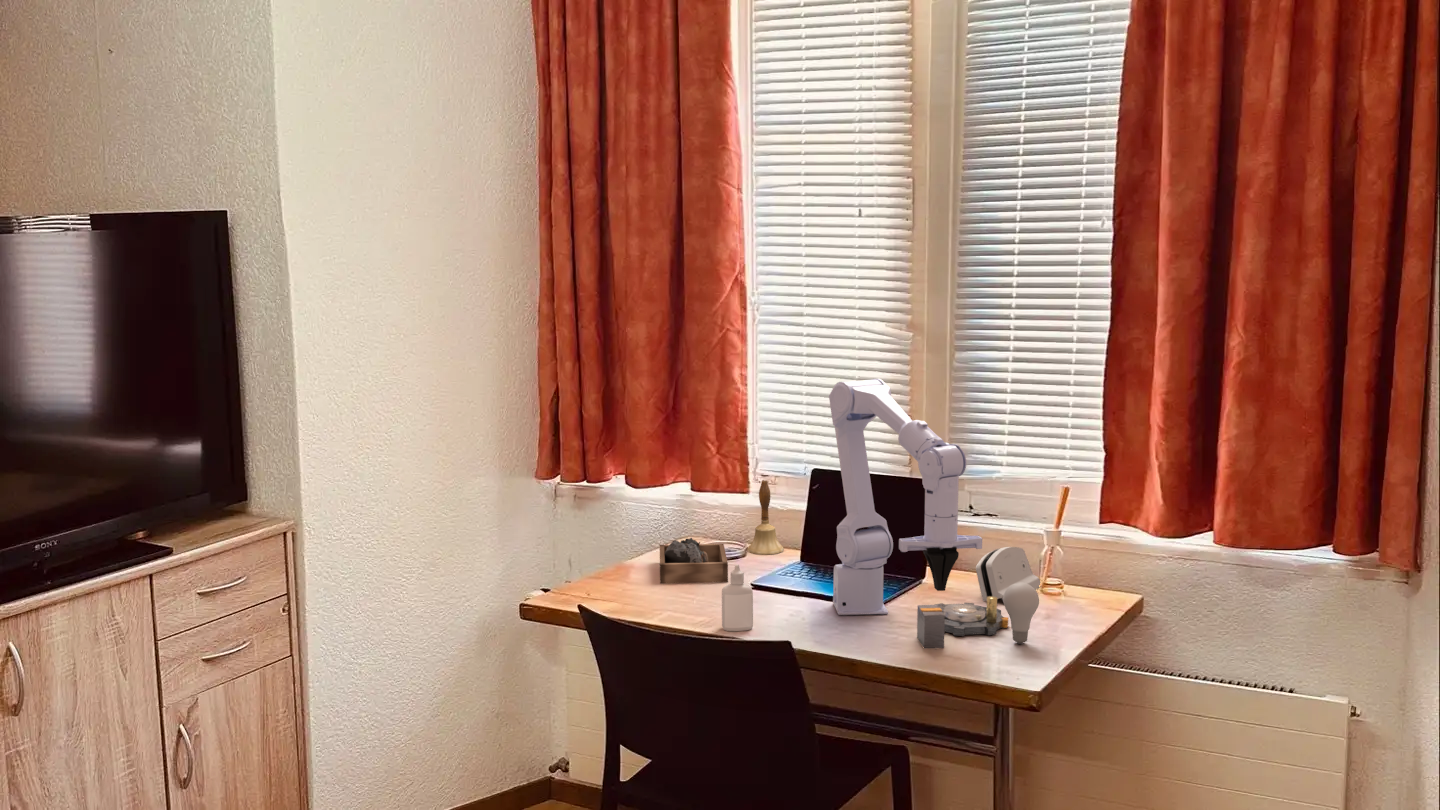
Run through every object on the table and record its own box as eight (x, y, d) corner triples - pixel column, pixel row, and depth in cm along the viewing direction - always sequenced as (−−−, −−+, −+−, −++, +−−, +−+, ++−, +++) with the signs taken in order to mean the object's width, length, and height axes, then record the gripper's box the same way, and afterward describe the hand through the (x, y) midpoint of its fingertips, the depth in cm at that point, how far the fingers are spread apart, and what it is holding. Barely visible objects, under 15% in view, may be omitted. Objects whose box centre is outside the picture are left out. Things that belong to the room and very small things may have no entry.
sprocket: (981, 641, 221) (981, 609, 220) (906, 624, 231) (907, 593, 230) (1021, 620, 233) (1022, 590, 232) (948, 604, 243) (949, 575, 242)
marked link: (924, 648, 219) (924, 614, 218) (916, 637, 224) (917, 604, 224) (944, 648, 219) (944, 614, 218) (936, 637, 225) (937, 603, 224)
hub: (948, 630, 228) (948, 615, 228) (939, 617, 235) (939, 603, 235) (989, 629, 228) (990, 614, 228) (979, 616, 236) (979, 602, 235)
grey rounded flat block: (1005, 605, 243) (990, 555, 243) (984, 609, 246) (969, 559, 246) (1042, 585, 256) (1028, 538, 256) (1021, 589, 259) (1007, 542, 259)
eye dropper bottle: (747, 633, 227) (747, 569, 225) (718, 630, 229) (718, 566, 227) (755, 626, 231) (755, 563, 229) (727, 623, 233) (727, 560, 231)
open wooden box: (660, 583, 259) (659, 564, 258) (659, 562, 275) (659, 544, 274) (727, 582, 259) (727, 563, 259) (723, 561, 275) (723, 543, 275)
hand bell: (744, 554, 282) (743, 484, 279) (751, 544, 290) (751, 476, 287) (780, 556, 280) (780, 485, 277) (786, 546, 288) (786, 478, 285)
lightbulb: (997, 638, 223) (999, 578, 222) (1031, 637, 224) (1032, 577, 222) (1008, 650, 217) (1010, 588, 216) (1042, 649, 218) (1044, 587, 216)
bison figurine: (696, 581, 259) (731, 568, 266) (693, 549, 258) (728, 536, 265) (658, 571, 268) (693, 558, 275) (655, 540, 267) (690, 527, 273)
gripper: (907, 520, 214) (905, 597, 216) (989, 517, 216) (987, 593, 218) (896, 511, 221) (895, 586, 223) (975, 508, 223) (973, 582, 225)
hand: (939, 589), depth 221 cm, fingers closed
